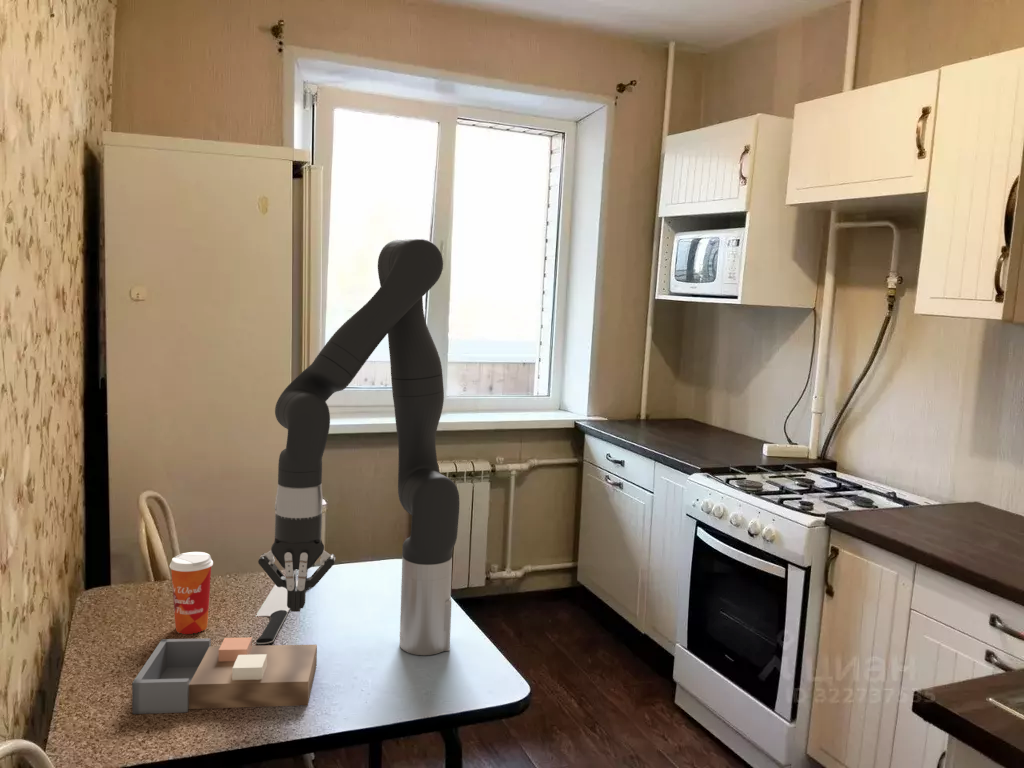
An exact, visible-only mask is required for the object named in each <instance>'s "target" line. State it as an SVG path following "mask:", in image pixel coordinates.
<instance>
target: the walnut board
mask: <svg viewBox="0 0 1024 768" xmlns="http://www.w3.org/2000/svg"><path fill="white" fill-rule="evenodd" d="M220 646H221V645H219V646H212V645H211V647H209V648H208V650H207V652H206V654H205V656H204V657H203V659H202V661H201V663H200V665H199V667H198V669H197V671H196V672H195V674H194V676H193V678H192V680H191V682H190V684H189V710H197V709H198V710H199V709H200V710H201V709H227V708H228V709H229V708H230V709H232V708H233V709H234V708H262V707H263V708H265V707H266V708H267V707H293V706H294V707H298V706H300V705H303V706H308V705H309V703H310V702H309V701H310V698H311V693H312V688H313V684H314V680H315V675H316V670H317V667H316V666H317V664H318V663H317V661H318V658H317V657H318V644H280V645H279V644H278V645H276V644H275V645H273V644H271V645H265V646H263V645H252V650H251V652H250V655H256V654H267V667H266V669H265V672H264V675H263V678H262V679H259V680H232V668H233V666H234V663H235V661H219V648H220Z"/></svg>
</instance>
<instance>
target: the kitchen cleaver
mask: <svg viewBox="0 0 1024 768" xmlns="http://www.w3.org/2000/svg"><path fill="white" fill-rule="evenodd" d="M297 585H298V579H296V586H297ZM289 611H291V608H288V607H287V589H286V588H284V587H277V586H276V584H275V583H274V585H273V587H272V589H271V590H270V592H269V593H268V595H267V597H266V598H265V600H264V602H263V603H262V605H261V606H260V607H259V610H258V611H257V613H256V614H257V615H256V614H255V618H257V616H258V617H259V616H260V617H265V618H267V617H268V618H270V619H269V622H268V624H267V625H266V627H265V628H264V629H263V631H262V633H261V635H260V636H259V637H258V638H257V639H256V641H255V644H256V646H265V645H273V643H274V642H275V640H276V638H277V636H278V633H279V631H280V629H281V628H282V626H283V624H284V622H285V621H286V619H287V617H288V613H289Z"/></svg>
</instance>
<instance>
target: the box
mask: <svg viewBox="0 0 1024 768" xmlns="http://www.w3.org/2000/svg"><path fill="white" fill-rule="evenodd" d="M211 643H212V641H211V638H209V637H208V638H207V637H206V638H167V639H166V638H164V639H163V638H162V639H160V642H159V643H157V645H156V647H155V649H154V650H153V652H152V653H151V655H149V658H148V659H147V660H146V662H145V663H144V665H143V666H142V668H141V669H140V671H139V672H138V674H137V675H136V677H135V678H134V680H133V681H132V683H131V690H132V691H131V693H132V694H131V695H132V697H131V698H132V699H131V700H132V701H131V705H132V706H131V707H132V715H143V714H144V715H145V714H171V713H172V714H173V713H175V714H176V713H177V714H178V713H182V714H183V713H188V712H189V710H190V709H189V684H190V682H191V680H192V678H193V676H194V674H195V672H196V671H197V669H198V667H199V665H200V663H201V661H202V659H203V657H204V656H205V654H206V652H207V650H208V648H209V647H212V645H211Z"/></svg>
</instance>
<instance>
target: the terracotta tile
mask: <svg viewBox="0 0 1024 768" xmlns="http://www.w3.org/2000/svg"><path fill="white" fill-rule="evenodd" d="M219 646H220V648H219V661H236V659H237V657H238V655H250V652H251V650H252V646H253V637H252V636H250V637H224V638H223V641H222V642H221V644H220V645H219Z"/></svg>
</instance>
